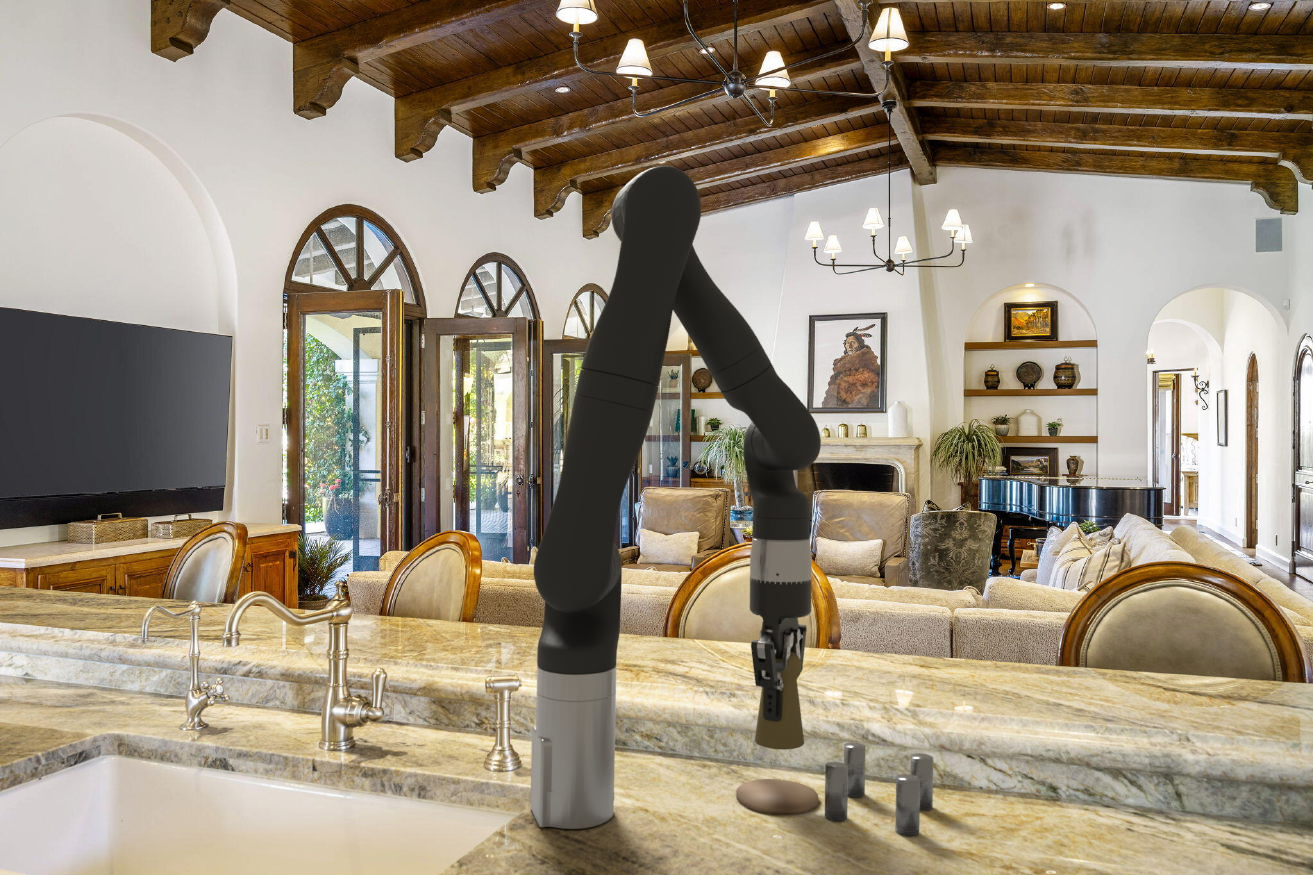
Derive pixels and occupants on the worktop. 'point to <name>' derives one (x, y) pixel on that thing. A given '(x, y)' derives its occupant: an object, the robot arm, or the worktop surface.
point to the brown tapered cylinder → (783, 713)
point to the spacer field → (850, 782)
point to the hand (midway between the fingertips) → (779, 714)
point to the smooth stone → (777, 797)
